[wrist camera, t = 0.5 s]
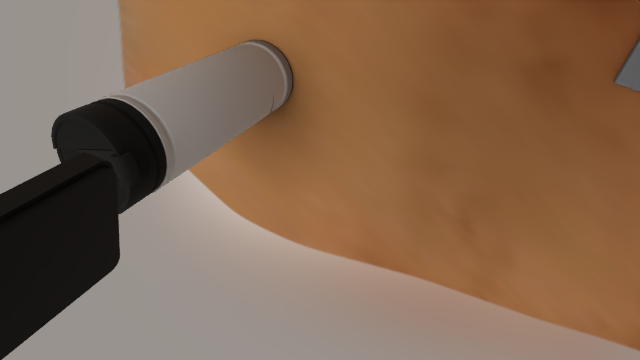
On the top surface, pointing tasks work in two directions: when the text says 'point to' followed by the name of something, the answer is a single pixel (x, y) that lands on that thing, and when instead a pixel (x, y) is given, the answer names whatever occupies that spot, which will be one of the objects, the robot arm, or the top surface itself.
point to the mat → (630, 70)
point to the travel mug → (176, 117)
